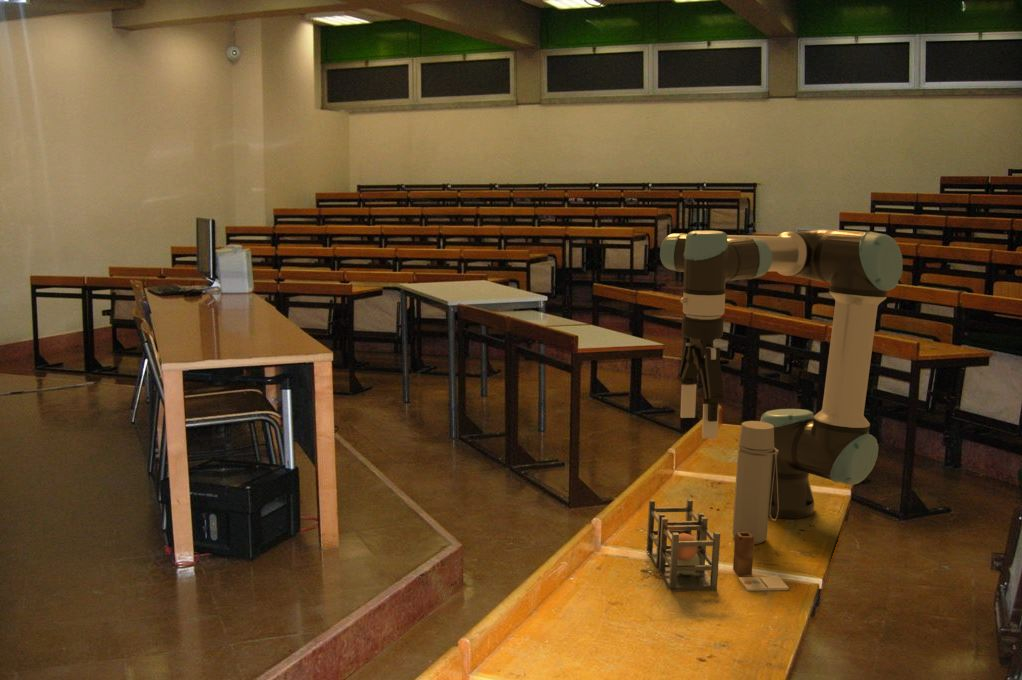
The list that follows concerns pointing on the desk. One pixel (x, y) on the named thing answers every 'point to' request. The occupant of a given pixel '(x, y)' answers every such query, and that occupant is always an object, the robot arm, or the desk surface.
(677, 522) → the wireframe cube
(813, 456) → the robot arm
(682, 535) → the ball terracotta
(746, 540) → the peg stand
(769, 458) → the water bottle
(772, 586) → the card
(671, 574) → the dark open frame crate
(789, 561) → the desk surface
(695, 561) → the ball sage
